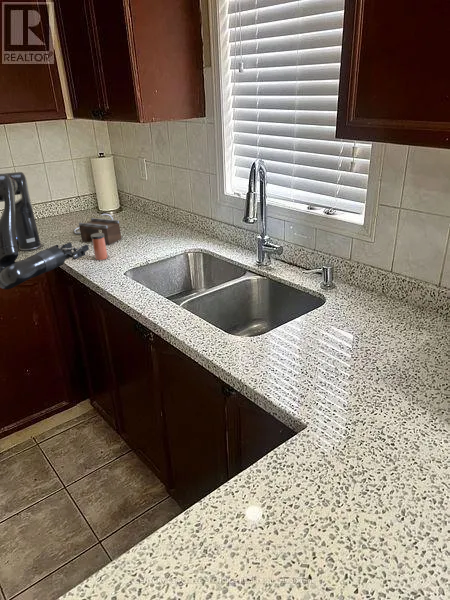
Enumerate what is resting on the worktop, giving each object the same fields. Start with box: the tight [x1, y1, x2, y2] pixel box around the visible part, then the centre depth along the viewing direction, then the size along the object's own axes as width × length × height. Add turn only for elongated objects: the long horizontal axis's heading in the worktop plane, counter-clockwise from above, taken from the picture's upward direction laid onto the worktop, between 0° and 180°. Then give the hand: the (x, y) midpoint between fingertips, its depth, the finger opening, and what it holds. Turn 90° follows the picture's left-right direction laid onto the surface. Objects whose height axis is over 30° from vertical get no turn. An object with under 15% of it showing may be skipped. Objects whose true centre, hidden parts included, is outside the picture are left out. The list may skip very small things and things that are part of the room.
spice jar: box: [91, 232, 108, 261], centre depth 184 cm, size 5×5×10 cm
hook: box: [73, 213, 114, 235], centre depth 223 cm, size 7×9×20 cm
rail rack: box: [78, 217, 122, 246], centre depth 207 cm, size 16×9×9 cm, turn 64°
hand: (79, 245), depth 174 cm, fingers open, 8 cm apart
